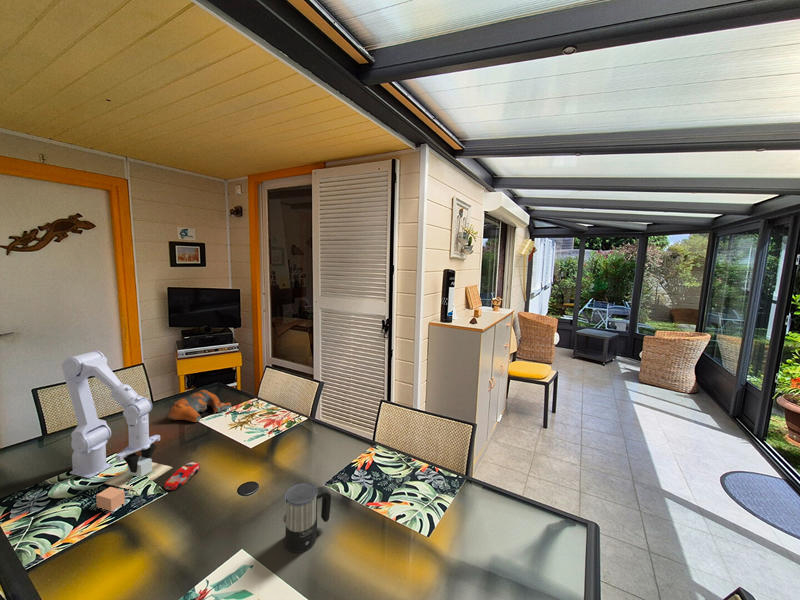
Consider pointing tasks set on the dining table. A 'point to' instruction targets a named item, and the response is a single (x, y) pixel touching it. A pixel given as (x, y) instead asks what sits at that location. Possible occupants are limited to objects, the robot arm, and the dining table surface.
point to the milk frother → (304, 515)
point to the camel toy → (196, 406)
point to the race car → (182, 476)
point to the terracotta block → (110, 498)
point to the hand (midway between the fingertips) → (139, 468)
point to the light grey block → (142, 467)
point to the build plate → (125, 477)
